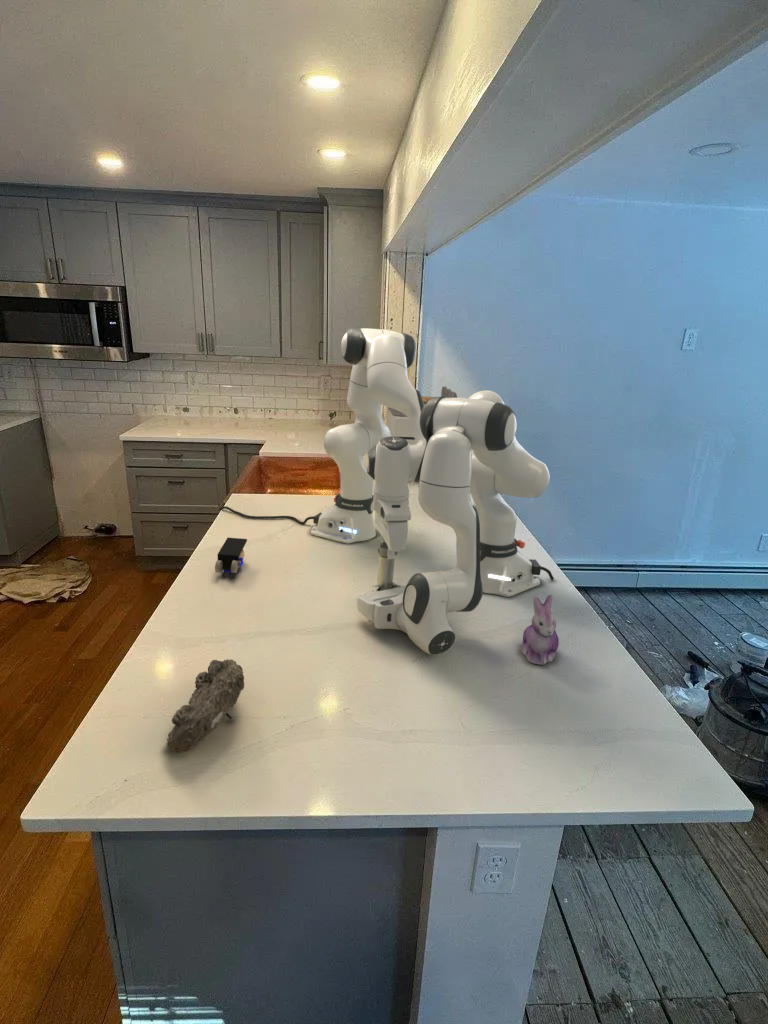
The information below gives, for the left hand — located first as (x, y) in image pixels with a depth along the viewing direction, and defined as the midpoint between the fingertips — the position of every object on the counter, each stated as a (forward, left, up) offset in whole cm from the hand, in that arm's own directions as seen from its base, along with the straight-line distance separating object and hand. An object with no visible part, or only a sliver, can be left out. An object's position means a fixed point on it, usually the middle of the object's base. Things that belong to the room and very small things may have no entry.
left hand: (388, 553), depth 147 cm
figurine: (+40, -10, -15) cm, 44 cm away
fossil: (-19, -53, -15) cm, 59 cm away
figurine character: (-48, +4, -15) cm, 51 cm away
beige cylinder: (0, 0, -15) cm, 15 cm away
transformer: (-20, +130, -15) cm, 133 cm away
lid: (0, 0, +2) cm, 2 cm away
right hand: (-1, 0, -10) cm, 10 cm away
